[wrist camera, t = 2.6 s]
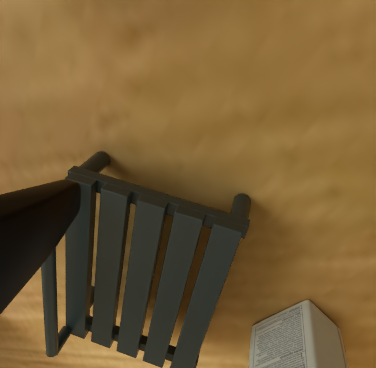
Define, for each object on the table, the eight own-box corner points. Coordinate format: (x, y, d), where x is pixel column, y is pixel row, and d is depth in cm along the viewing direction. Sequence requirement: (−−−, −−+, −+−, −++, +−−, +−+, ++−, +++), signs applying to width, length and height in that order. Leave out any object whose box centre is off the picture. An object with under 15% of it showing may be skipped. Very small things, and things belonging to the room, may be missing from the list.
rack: (252, 196, 22) (243, 265, 16) (203, 333, 30) (184, 413, 24) (95, 149, 24) (32, 197, 18) (88, 292, 32) (43, 359, 26)
